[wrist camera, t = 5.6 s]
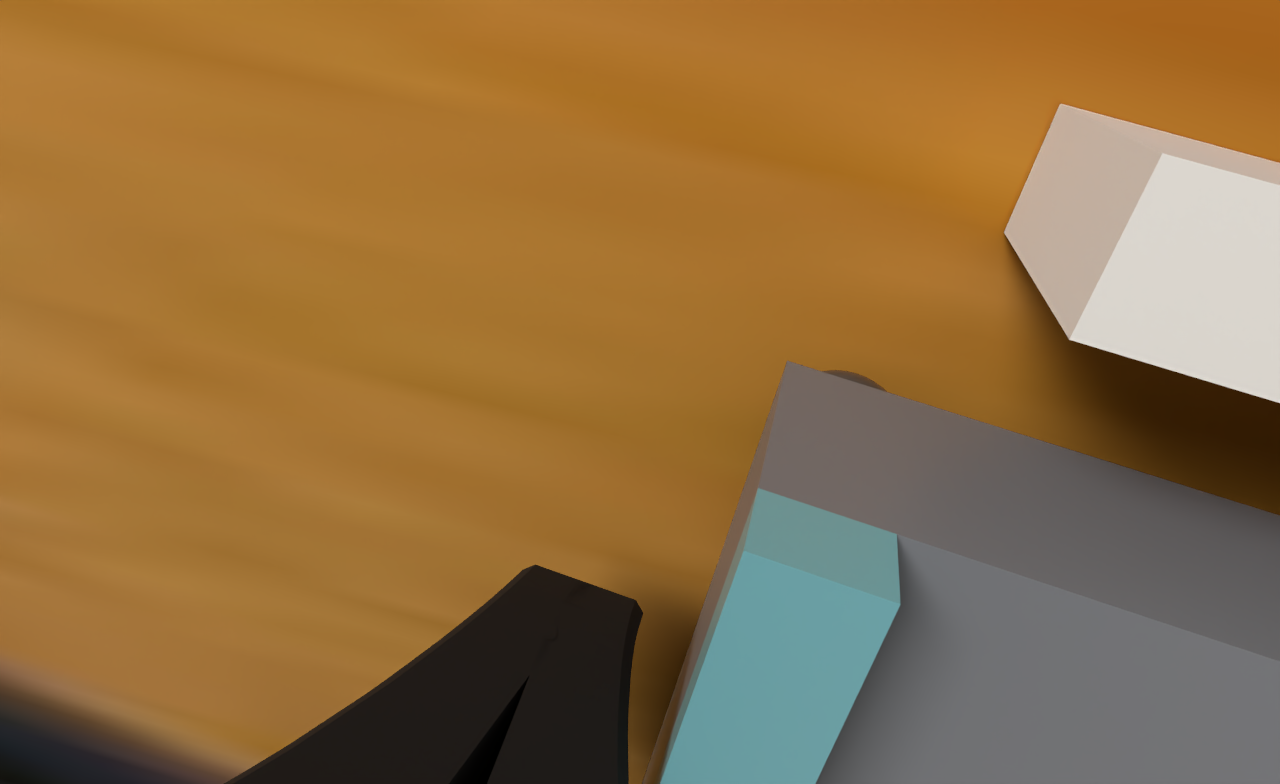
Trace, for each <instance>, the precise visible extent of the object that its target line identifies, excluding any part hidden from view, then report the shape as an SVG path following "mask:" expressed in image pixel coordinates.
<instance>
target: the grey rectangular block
mask: <svg viewBox="0 0 1280 784" xmlns="http://www.w3.org/2000/svg"><path fill="white" fill-rule="evenodd" d="M642 784H1280V515H1276V514H1273V513H1270V512H1267V511H1264V510H1260V509H1257V508H1254V507H1251V506H1248V505H1245V504H1241V503H1238V502H1235V501H1232V500H1229V499H1225V498H1222V497H1219V496H1216V495H1213V494H1210V493H1206V492H1203V491H1200V490H1197V489H1194V488H1190V487H1187V486H1184V485H1181V484H1178V483H1174V482H1171V481H1168V480H1165V479H1162V478H1159V477H1155V476H1152V475H1149V474H1146V473H1143V472H1139V471H1136V470H1133V469H1130V468H1127V467H1124V466H1120V465H1117V464H1114V463H1111V462H1108V461H1104V460H1101V459H1098V458H1095V457H1092V456H1089V455H1085V454H1082V453H1079V452H1076V451H1073V450H1069V449H1066V448H1063V447H1060V446H1057V445H1054V444H1050V443H1047V442H1044V441H1041V440H1038V439H1034V438H1031V437H1028V436H1025V435H1022V434H1019V433H1015V432H1012V431H1009V430H1006V429H1003V428H999V427H996V426H993V425H990V424H987V423H984V422H980V421H977V420H974V419H971V418H968V417H964V416H961V415H958V414H955V413H952V412H949V411H945V410H942V409H939V408H936V407H933V406H929V405H926V404H923V403H920V402H917V401H914V400H910V399H907V398H904V397H901V396H898V395H894V394H891V393H888V392H887V391H885V390H884V389H883V388H882V387H881V386H879V385H878V384H877V383H875V382H874V381H872V380H870V379H868V378H866V377H864V376H862V375H859V374H856V373H852V372H848V371H840V370H830V371H822V372H821V371H818V370H815V369H812V368H808V367H805V366H802V365H799V364H796V363H793V362H789V361H787V363H786V366H785V369H784V372H783V375H782V378H781V381H780V383H779V386H778V389H777V392H776V395H775V398H774V401H773V404H772V407H771V410H770V413H769V415H768V417H767V420H766V424H765V427H764V430H763V433H762V436H761V439H760V442H759V445H758V447H757V450H756V453H755V456H754V459H753V462H752V465H751V468H750V471H749V474H748V477H747V479H746V482H745V485H744V488H743V491H742V494H741V497H740V500H739V503H738V506H737V509H736V511H735V514H734V517H733V520H732V523H731V526H730V529H729V532H728V535H727V538H726V541H725V543H724V546H723V549H722V552H721V555H720V558H719V561H718V564H717V567H716V570H715V573H714V575H713V578H712V581H711V584H710V587H709V590H708V593H707V596H706V599H705V602H704V605H703V607H702V610H701V613H700V616H699V619H698V622H697V625H696V628H695V631H694V634H693V637H692V639H691V642H690V645H689V648H688V651H687V654H686V657H685V660H684V663H683V666H682V669H681V671H680V674H679V677H678V680H677V683H676V686H675V689H674V692H673V695H672V698H671V700H670V703H669V706H668V709H667V712H666V715H665V718H664V721H663V724H662V727H661V730H660V732H659V735H658V738H657V741H656V744H655V747H654V750H653V753H652V756H651V759H650V762H649V764H648V767H647V770H646V773H645V776H644V779H643V782H642Z"/></svg>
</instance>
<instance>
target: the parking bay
mask: <svg viewBox="0 0 1280 784" xmlns="http://www.w3.org/2000/svg"><path fill="white" fill-rule="evenodd" d="M1004 233H1005V235H1006V237H1007V238H1008V240H1009V242H1010V243H1011V245H1012V247H1013V248H1014V250H1015V251H1016V253H1017V255H1018V256H1019V258H1020V260H1021V261H1022V263H1023V265H1024V266H1025V268H1026V270H1027V271H1028V273H1029V274H1030V276H1031V278H1032V279H1033V281H1034V283H1035V284H1036V286H1037V288H1038V289H1039V291H1040V293H1041V294H1042V296H1043V297H1044V299H1045V301H1046V302H1047V304H1048V306H1049V307H1050V309H1051V311H1052V312H1053V314H1054V315H1055V317H1056V319H1057V320H1058V322H1059V324H1060V325H1061V327H1062V329H1063V330H1064V332H1065V334H1066V335H1067V337H1068V338H1069V340H1072V341H1075V342H1078V343H1082V344H1085V345H1088V346H1092V347H1095V348H1098V349H1102V350H1105V351H1108V352H1112V353H1115V354H1118V355H1122V356H1125V357H1128V358H1132V359H1135V360H1138V361H1142V362H1145V363H1148V364H1152V365H1155V366H1158V367H1161V368H1165V369H1168V370H1171V371H1175V372H1178V373H1181V374H1185V375H1188V376H1191V377H1195V378H1198V379H1201V380H1205V381H1208V382H1211V383H1215V384H1218V385H1221V386H1225V387H1228V388H1231V389H1235V390H1238V391H1241V392H1244V393H1248V394H1251V395H1254V396H1258V397H1261V398H1264V399H1268V400H1271V401H1274V402H1278V403H1280V163H1278V162H1274V161H1271V160H1267V159H1263V158H1260V157H1256V156H1252V155H1248V154H1245V153H1241V152H1237V151H1234V150H1230V149H1226V148H1223V147H1219V146H1215V145H1212V144H1208V143H1204V142H1201V141H1197V140H1193V139H1189V138H1186V137H1182V136H1178V135H1175V134H1171V133H1167V132H1164V131H1160V130H1156V129H1153V128H1149V127H1145V126H1141V125H1138V124H1134V123H1130V122H1127V121H1123V120H1119V119H1116V118H1112V117H1108V116H1105V115H1101V114H1097V113H1094V112H1090V111H1086V110H1082V109H1079V108H1075V107H1071V106H1068V105H1064V104H1060V105H1059V108H1058V110H1057V112H1056V114H1055V117H1054V119H1053V121H1052V124H1051V126H1050V128H1049V131H1048V133H1047V135H1046V137H1045V140H1044V142H1043V144H1042V147H1041V149H1040V151H1039V153H1038V156H1037V158H1036V160H1035V163H1034V165H1033V167H1032V169H1031V172H1030V174H1029V176H1028V179H1027V181H1026V183H1025V185H1024V188H1023V190H1022V192H1021V195H1020V197H1019V199H1018V201H1017V204H1016V206H1015V208H1014V211H1013V213H1012V215H1011V217H1010V220H1009V222H1008V224H1007V227H1006V229H1005V231H1004Z"/></svg>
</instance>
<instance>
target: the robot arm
mask: <svg viewBox="0 0 1280 784" xmlns="http://www.w3.org/2000/svg"><path fill="white" fill-rule="evenodd" d="M642 615H643V612H642V610H641V609H640V607H639V605H638V603H637V602H636V600H634V599H631V598H628V597H625V596H622V595H620V594H617V593H614V592H611V591H608V590H605V589H603V588H600V587H597V586H594V585H591V584H588V583H586V582H583V581H580V580H577V579H574V578H572V577H569V576H566V575H563V574H560V573H557V572H555V571H552V570H549V569H546V568H543V567H540V566H538V565H533V566H531V567H529V568H526V569H524V570H522V571H521V572H520V573H519V574H518V575H517V576H516V577H515V578H514V579H513V580H511V581H510V582H509V583H508V584H507V585H506V586H505V587H504V588H503V589H501V590H500V591H499V592H498V593H497V594H496V595H495V596H493V597H492V598H491V599H490V600H489V601H488V602H486V603H485V604H484V605H483V606H482V607H480V608H479V609H478V610H477V611H476V612H474V613H473V614H472V615H471V616H469V617H468V618H467V619H466V620H464V621H463V622H462V623H461V624H459V625H458V626H457V627H456V628H454V629H453V630H452V631H451V632H449V633H448V634H447V635H446V636H444V637H443V638H442V639H441V640H439V641H438V642H437V643H435V644H434V645H432V646H431V647H430V648H428V649H427V650H426V651H424V652H423V653H422V654H420V655H419V656H418V657H416V658H415V659H414V660H412V661H411V662H410V663H408V664H407V665H405V666H404V667H403V668H401V669H400V670H399V671H397V672H396V673H395V674H393V675H392V676H391V677H389V678H388V679H387V680H385V681H384V682H382V683H381V684H380V685H378V686H377V687H375V688H374V689H372V690H371V691H370V692H368V693H367V694H365V695H364V696H362V697H361V698H359V699H358V700H356V701H355V702H353V703H352V704H350V705H349V706H347V707H346V708H344V709H343V710H341V711H340V712H338V713H336V714H335V715H333V716H332V717H330V718H329V719H327V720H326V721H324V722H323V723H321V724H320V725H318V726H317V727H315V728H314V729H312V730H311V731H309V732H308V733H306V734H305V735H303V736H302V737H300V738H299V739H297V740H296V741H294V742H292V743H291V744H289V745H288V746H286V747H284V748H283V749H281V750H280V751H278V752H276V753H275V754H273V755H271V756H270V757H268V758H266V759H265V760H263V761H262V762H260V763H258V764H257V765H255V766H253V767H252V768H250V769H248V770H247V771H245V772H243V773H242V774H240V775H238V776H236V777H235V778H233V779H231V780H230V781H228V782H226V783H224V784H628V708H629V692H630V677H631V668H632V659H633V652H634V645H635V640H636V636H637V631H638V628H639V625H640V622H641V618H642Z"/></svg>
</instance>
